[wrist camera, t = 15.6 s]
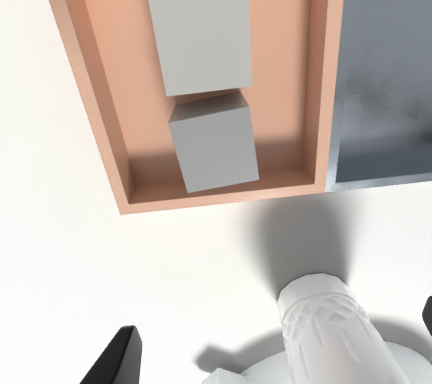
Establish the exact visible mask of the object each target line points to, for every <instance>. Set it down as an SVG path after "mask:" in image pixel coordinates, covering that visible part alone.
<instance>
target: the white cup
mask: <svg viewBox="0 0 432 384" xmlns="http://www.w3.org/2000/svg"><path fill="white" fill-rule="evenodd" d="M277 305H278V310H279V315H280V319H281V324H282V331H283V332H282V335H283V340H284V346H285V351H286V356H287V362H288V368H289V373H290V377H291V382H292V384H411V383H410V381H409V380H408V378H407V377H406V375H405V373H404V372H403V370H402V369H401V367H400V365H399V364H398V362H397V361H396V359H395V358H394V356H393V354H392V353H391V351H390V350H389V348H388V346H387V345H386V343H385V342H384V340H383V339H382V337H381V335H380V334H379V333H378V331H377V330H376V328H375V327H374V325H373V324H372V323H371V321H370V319H369V318H368V316H367V314H366V313H365V311H364V310H363V309H362V307H361V306H360V305H359V304H358V303H357V301H356V299H355V298H354V296H353V294H352V293H351V291H350V289H349V288H348V286H347V285H346V284H345V283H344V282H343V281H342V280H340V279H339V278H338V277H336V276H332V275H328V274H324V273H319V274H310V275H305V276H302V277H300V278H298V279H296V280H293V281H291V282H290V283H289V284H288V285H287V286H286V287H285V288H284V289H283V290H282V291H281V292H280V295H279V298H278V301H277Z"/></svg>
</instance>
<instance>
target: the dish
mask: <svg viewBox="0 0 432 384" xmlns="http://www.w3.org/2000/svg"><path fill="white" fill-rule="evenodd" d="M343 1H344V0H249V14H250V38H251V61H252V85H253V86H250V87H242V88H234V89H226V90H217V91H209V92H201V93H192V94H184V95H176V96H167V97H166V92H165V86H164V81H163V76H162V70H161V65H160V60H159V55H158V49H157V44H156V39H155V34H154V28H153V23H152V18H151V12H150V7H149V2H148V0H49V2H50V5H51V8H52V11H53V14H54V17H55V20H56V23H57V26H58V29H59V32H60V35H61V38H62V41H63V44H64V47H65V50H66V53H67V56H68V59H69V62H70V65H71V68H72V71H73V74H74V77H75V80H76V83H77V86H78V89H79V92H80V95H81V98H82V101H83V104H84V107H85V110H86V113H87V116H88V119H89V122H90V125H91V128H92V131H93V134H94V137H95V140H96V143H97V146H98V149H99V152H100V155H101V158H102V161H103V164H104V167H105V170H106V173H107V176H108V179H109V182H110V185H111V188H112V191H113V194H114V197H115V200H116V203H117V206H118V209H119V212H120V215H124V214H133V213H142V212H151V211H161V210H170V209H179V208H188V207H197V206H207V205H216V204H225V203H234V202H243V201H253V200H262V199H271V198H280V197H289V196H299V195H308V194H317V193H325V188H326V178H327V167H328V157H329V147H330V136H331V126H332V115H333V105H334V95H335V84H336V74H337V63H338V53H339V43H340V32H341V22H342V11H343ZM239 91H241V93H242V95H243V96H244V98H245V100H246V101H247V103H248V105H249V107H250V115H251V122H252V130H253V137H254V144H255V152H256V159H257V167H258V174H259V180H255V181H250V182H244V183H239V184H234V185H229V186H223V187H218V188H213V189H207V190H202V191H197V192H191V193H188V192H187V189H186V185H185V182H184V178H183V175H182V171H181V168H180V164H179V161H178V157H177V154H176V150H175V147H174V143H173V140H172V136H171V133H170V129H169V126H168V121H169V119H170V117H171V114H172V112H173V110H174V107H175V105H177V104H182V103H187V102H192V101H196V100H201V99H206V98H211V97H215V96H220V95H225V94H230V93H234V92H239Z"/></svg>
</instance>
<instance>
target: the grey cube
mask: <svg viewBox="0 0 432 384" xmlns="http://www.w3.org/2000/svg"><path fill="white" fill-rule="evenodd" d="M168 126H169V129H170V133H171V136H172V140H173V143H174V147H175V150H176V154H177V157H178V161H179V164H180V168H181V171H182V175H183V178H184V182H185V185H186V189H187V192H188V193H191V192H197V191H202V190H207V189H213V188H218V187H223V186H229V185H234V184H239V183H244V182H250V181H255V180H259V174H258V167H257V159H256V152H255V144H254V137H253V130H252V122H251V115H250V107H249V105H248V103H247V101H246V100H245V98H244V96H243V95H242V93H241V91H239V92H234V93H230V94H225V95H220V96H215V97H211V98H206V99H201V100H196V101H192V102H187V103H182V104H177V105H175V107H174V110H173V112H172V114H171V117H170V119H169V121H168Z"/></svg>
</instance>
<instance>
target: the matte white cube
mask: <svg viewBox="0 0 432 384" xmlns="http://www.w3.org/2000/svg"><path fill="white" fill-rule="evenodd" d="M148 2H149V7H150V12H151V18H152V23H153V28H154V34H155V39H156V44H157V49H158V55H159V60H160V65H161V70H162V76H163V81H164V86H165V92H166V97H167V96H176V95H184V94H192V93H201V92H209V91H217V90H226V89H234V88H242V87H250V86H253V85H252V61H251V38H250V14H249V0H148Z"/></svg>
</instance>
